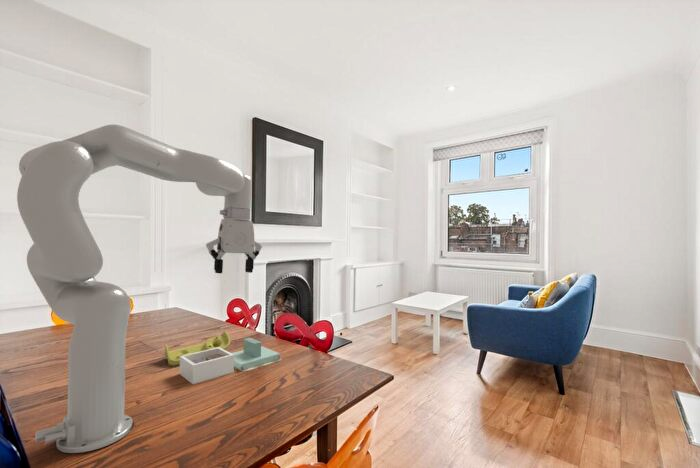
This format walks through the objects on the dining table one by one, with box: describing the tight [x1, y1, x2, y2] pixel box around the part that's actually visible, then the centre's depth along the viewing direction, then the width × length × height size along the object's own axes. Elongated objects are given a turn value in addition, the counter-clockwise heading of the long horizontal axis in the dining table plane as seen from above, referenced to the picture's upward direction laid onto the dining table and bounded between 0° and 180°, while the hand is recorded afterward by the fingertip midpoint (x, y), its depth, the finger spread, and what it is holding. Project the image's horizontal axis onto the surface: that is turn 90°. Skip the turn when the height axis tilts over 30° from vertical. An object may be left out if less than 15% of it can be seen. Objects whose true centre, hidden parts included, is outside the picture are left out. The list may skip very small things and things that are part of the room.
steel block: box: [192, 358, 206, 364], centre depth 99 cm, size 4×4×4 cm
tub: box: [179, 347, 235, 385], centre depth 101 cm, size 12×10×6 cm
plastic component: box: [164, 331, 231, 366], centre depth 116 cm, size 20×7×10 cm
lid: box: [231, 337, 281, 371], centre depth 112 cm, size 14×12×6 cm
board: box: [234, 358, 283, 373], centre depth 112 cm, size 14×14×1 cm
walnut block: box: [206, 354, 223, 361], centre depth 103 cm, size 4×4×4 cm
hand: (234, 272), depth 101 cm, fingers open, 9 cm apart
